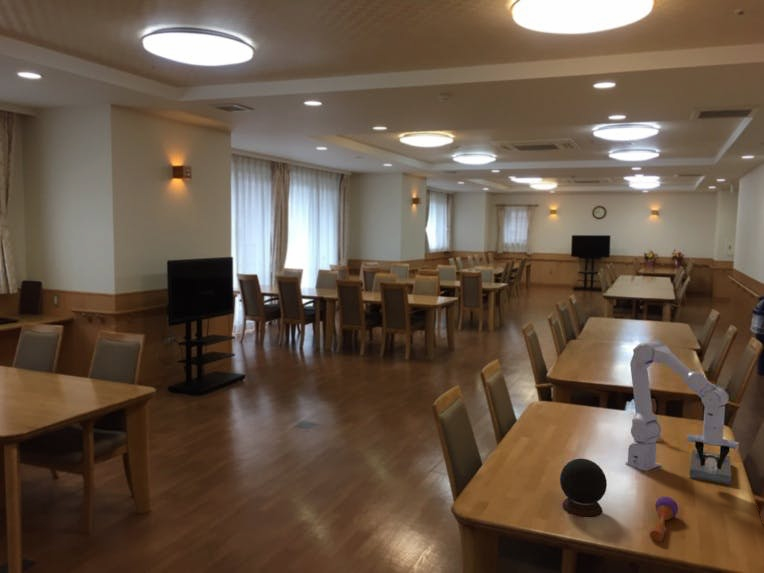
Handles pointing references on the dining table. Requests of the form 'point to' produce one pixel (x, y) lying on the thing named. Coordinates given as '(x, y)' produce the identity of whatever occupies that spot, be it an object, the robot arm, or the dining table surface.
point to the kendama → (663, 516)
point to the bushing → (710, 463)
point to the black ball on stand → (583, 487)
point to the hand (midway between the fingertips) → (710, 466)
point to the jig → (720, 477)
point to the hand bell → (659, 438)
